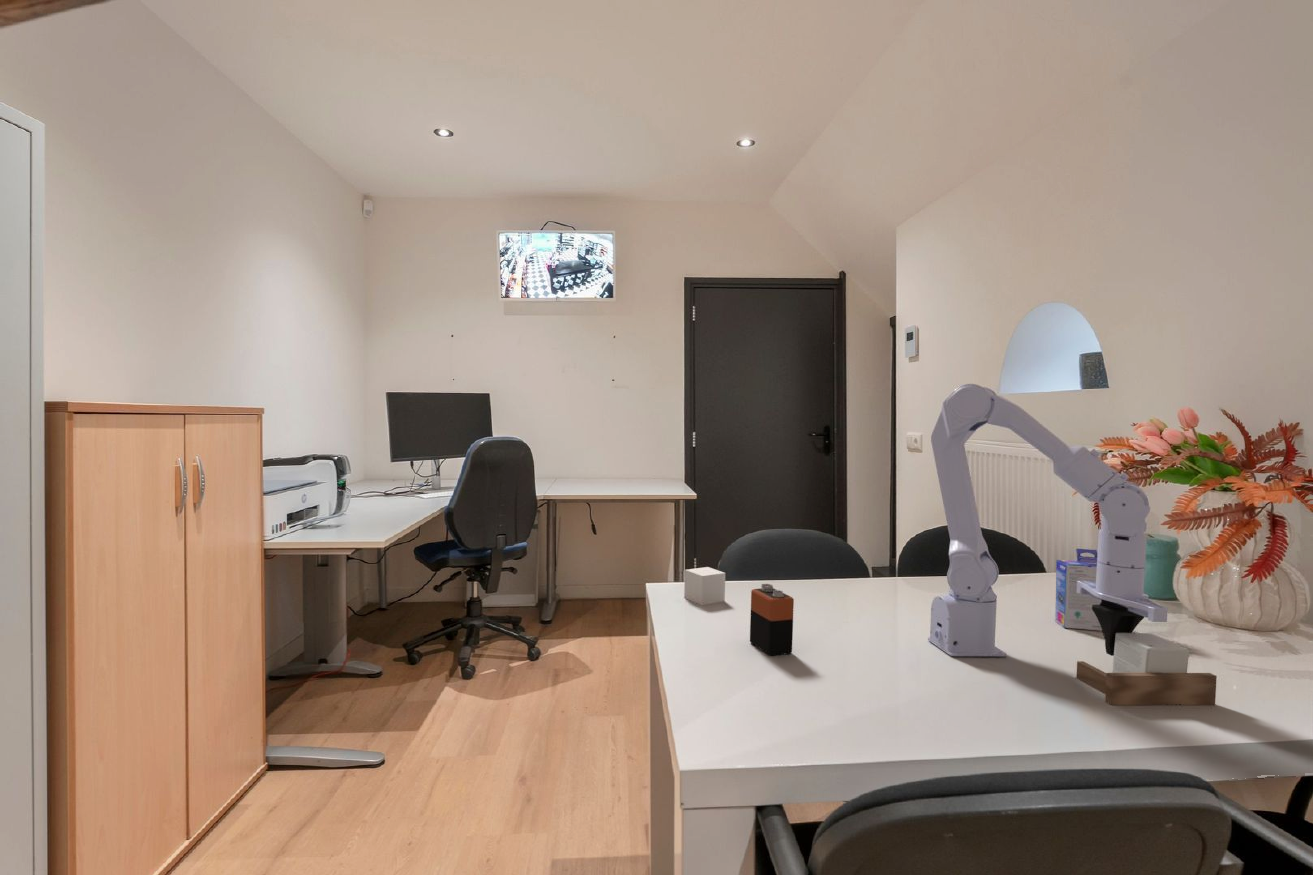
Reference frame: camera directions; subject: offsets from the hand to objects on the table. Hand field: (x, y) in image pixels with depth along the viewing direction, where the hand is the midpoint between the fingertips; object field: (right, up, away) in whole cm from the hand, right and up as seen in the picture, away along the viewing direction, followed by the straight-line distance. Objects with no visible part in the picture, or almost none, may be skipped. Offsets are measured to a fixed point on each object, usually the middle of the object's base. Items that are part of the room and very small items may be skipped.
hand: (1115, 654), depth 94 cm
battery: (-50, -3, +10) cm, 51 cm away
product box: (+2, -4, -4) cm, 6 cm away
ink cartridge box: (+13, -4, +26) cm, 29 cm away
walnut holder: (0, -4, -3) cm, 5 cm away
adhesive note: (-58, -2, +37) cm, 69 cm away
